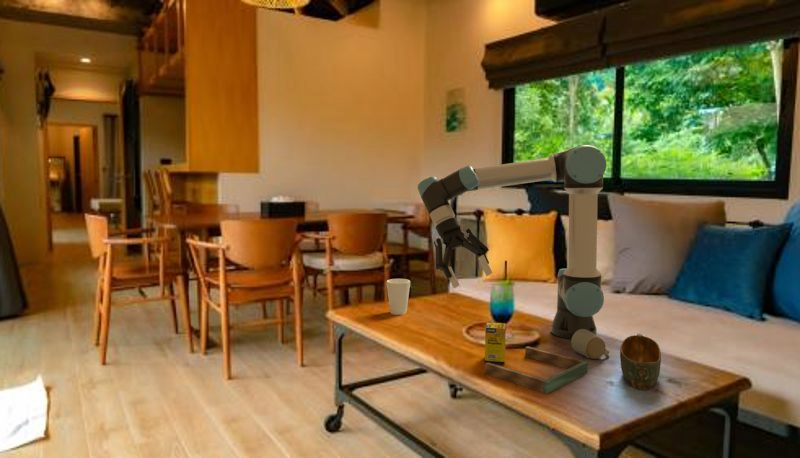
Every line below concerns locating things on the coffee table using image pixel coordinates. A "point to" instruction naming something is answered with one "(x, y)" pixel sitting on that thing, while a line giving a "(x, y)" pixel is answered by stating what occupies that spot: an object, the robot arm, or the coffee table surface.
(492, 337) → the supplement box
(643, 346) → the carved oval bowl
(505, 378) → the open frame
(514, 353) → the coffee table surface
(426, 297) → the coffee table surface
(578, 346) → the ceramic mug
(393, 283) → the foam cup
